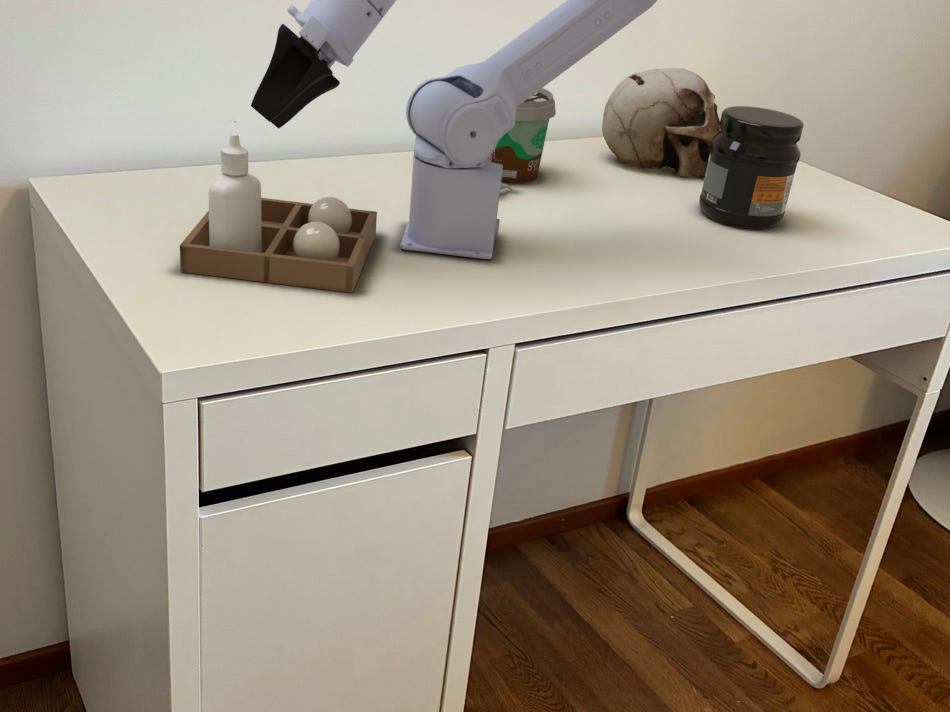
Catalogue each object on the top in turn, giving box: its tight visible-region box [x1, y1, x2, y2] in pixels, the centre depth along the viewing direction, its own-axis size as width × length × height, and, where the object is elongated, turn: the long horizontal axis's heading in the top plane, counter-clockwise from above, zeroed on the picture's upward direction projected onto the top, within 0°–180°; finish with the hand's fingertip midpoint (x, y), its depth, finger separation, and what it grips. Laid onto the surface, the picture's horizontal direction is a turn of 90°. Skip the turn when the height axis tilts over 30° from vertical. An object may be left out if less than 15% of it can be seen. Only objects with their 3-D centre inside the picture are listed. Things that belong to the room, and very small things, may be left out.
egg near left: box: [308, 196, 352, 234], centre depth 112 cm, size 4×4×4 cm
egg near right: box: [293, 222, 340, 261], centre depth 105 cm, size 4×4×4 cm
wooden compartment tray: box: [179, 197, 378, 294], centre depth 109 cm, size 16×16×3 cm
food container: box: [494, 87, 557, 185], centre depth 138 cm, size 12×6×10 cm, turn 168°
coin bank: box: [601, 67, 721, 178], centre depth 150 cm, size 16×17×13 cm
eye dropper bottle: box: [208, 133, 263, 253], centre depth 103 cm, size 4×6×12 cm
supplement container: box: [698, 105, 805, 230], centre depth 133 cm, size 10×10×12 cm
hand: (265, 118), depth 102 cm, fingers open, 7 cm apart
